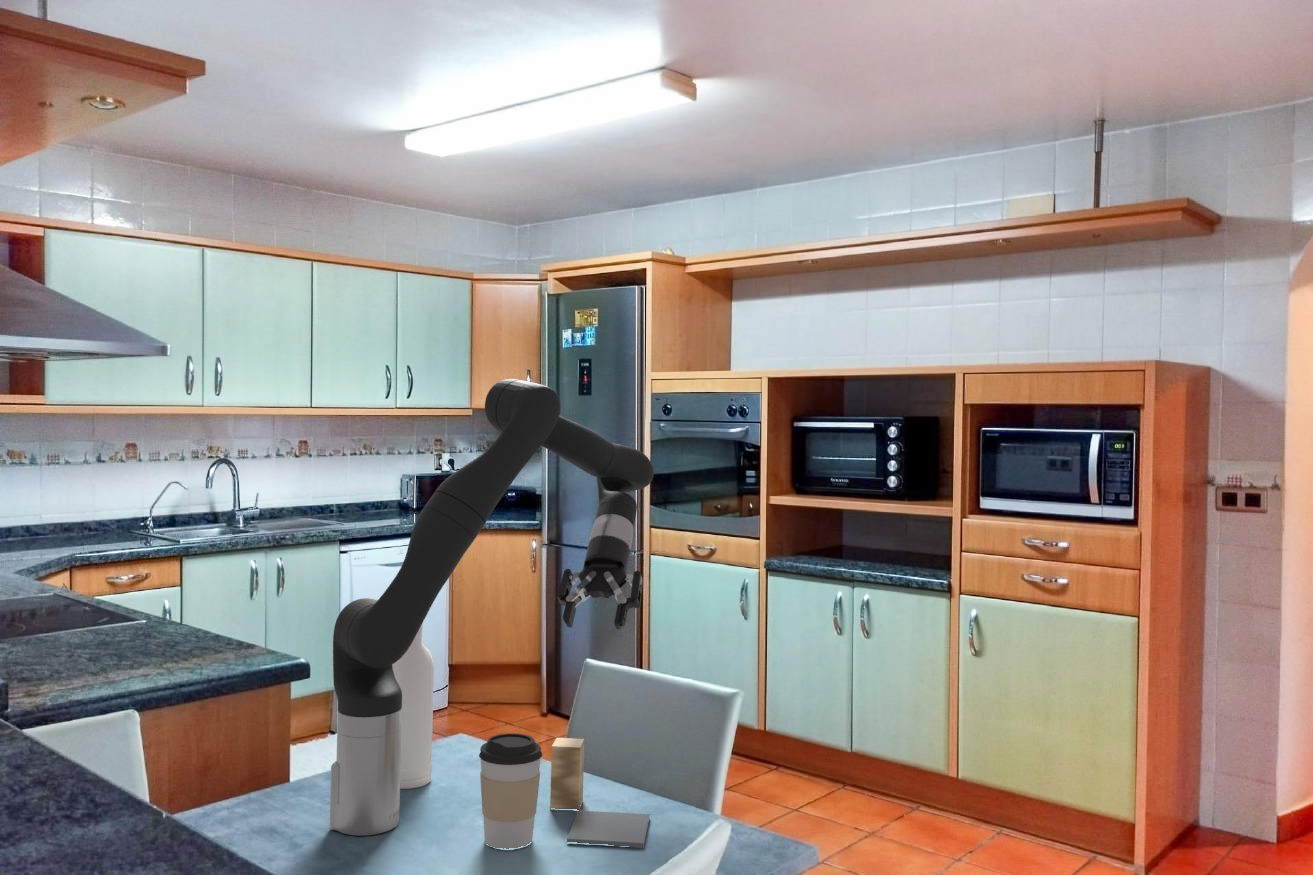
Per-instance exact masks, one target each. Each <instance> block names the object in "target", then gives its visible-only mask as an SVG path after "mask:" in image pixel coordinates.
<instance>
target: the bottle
mask: <svg viewBox="0 0 1313 875" xmlns="http://www.w3.org/2000/svg"><path fill="white" fill-rule="evenodd" d="M392 666H393V672H394V676H395V678H396V681H397V683H398V684H399V686H400V688H401V690H402V727H401V728H402V729H401V768H400V790H405V789H406V790H409V789H410V790H411V789H417V788H421V787H424V786H426V785H428V784H429V783H430V782H431V781H432V773H433V759H432V756H433V724H434V723H433V722H434V721H433V719H434V718H433V716H434V687H435V686H434V680H435V678H434V677H435V676H434V673H435V662H434V658H433V656H432V652H431V650H429V648H427V647H426V646H425V645H424V643H423V623H422V625H421V627H420V629H419V631H418V633H417V635H416V636H415V638H414V640H413V642H412V644H411V645H410V647H409V649H408V650H407V652H406V653H405V654H404V655H403V656H402V657H401V658H400V659H399V660H398V661H397V662H395V663H394V664H392Z"/></svg>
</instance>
